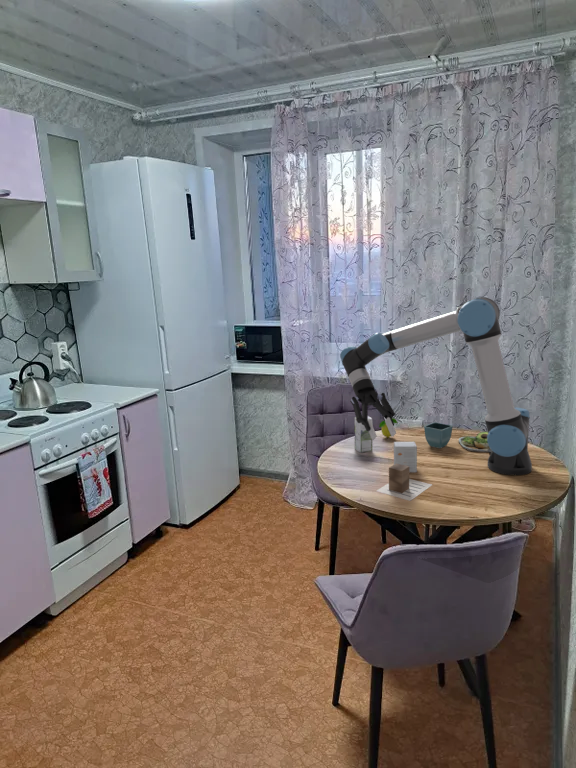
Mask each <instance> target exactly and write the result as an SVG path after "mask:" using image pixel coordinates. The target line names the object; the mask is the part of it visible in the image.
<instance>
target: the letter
mask: <svg viewBox="0 0 576 768" xmlns="http://www.w3.org/2000/svg"><path fill="white" fill-rule="evenodd" d="M432 486H433V484H432V483H427V482H423V481H420V480H416V479H412V478H409V489H408V490H406V491H405V492H403V493H399V492H395V491H392V490H389V482H388V483H386V484H385V485H383V486H382V487H380V488H378V489H376V492H378V493H381V494H384V495H388V496H391V497H395V498H398V499H402V500H405V501H410V502H411V501H413V499H416V497H418V496H419V495H421V494H422V493H424V492H425V491H426V490H427V489H429V488H431V487H432Z"/></svg>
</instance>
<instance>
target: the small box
mask: <svg viewBox="0 0 576 768" xmlns="http://www.w3.org/2000/svg"><path fill="white" fill-rule="evenodd" d="M417 452H418V446H417V444H416V442H415V441H393V465H394V464H396V463H397V464H401V465H405V466H409V473H417V472H418V467H417V466H418V453H417Z"/></svg>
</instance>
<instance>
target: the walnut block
mask: <svg viewBox="0 0 576 768" xmlns="http://www.w3.org/2000/svg"><path fill="white" fill-rule="evenodd" d="M409 479H410V472H409V466H405V465H401V464H397V463H396V464H394V463H393V465H391V466H390V467H388V483H389V490H392V491H395V492H399V493H403V492H405V491H406V490H408V489H409Z"/></svg>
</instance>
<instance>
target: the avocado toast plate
mask: <svg viewBox="0 0 576 768" xmlns="http://www.w3.org/2000/svg"><path fill="white" fill-rule="evenodd" d="M487 436H488V431H482V432H479V433H477V434H476V436H468V435H467V436H462V437H459V438H458V444H460V446H461V447H462V448H463V449H465V450H466V449H467V451H470V452H475V453H491V451H492V450H491V449H490V447H489V445H488V442H487ZM473 446H474V448H471V447H473ZM476 447H477V448H478V449H477V448H476Z"/></svg>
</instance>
